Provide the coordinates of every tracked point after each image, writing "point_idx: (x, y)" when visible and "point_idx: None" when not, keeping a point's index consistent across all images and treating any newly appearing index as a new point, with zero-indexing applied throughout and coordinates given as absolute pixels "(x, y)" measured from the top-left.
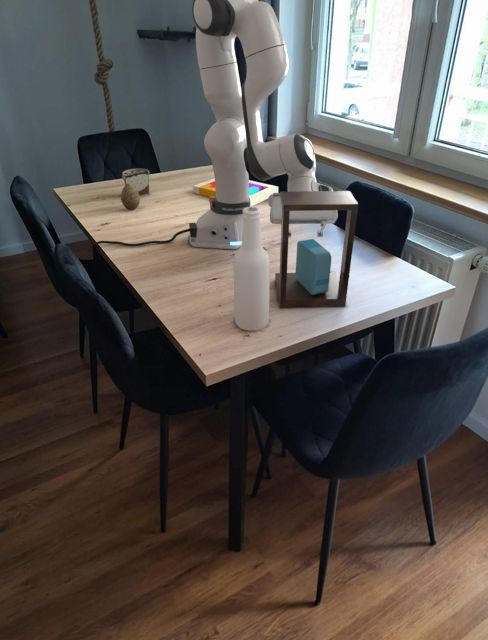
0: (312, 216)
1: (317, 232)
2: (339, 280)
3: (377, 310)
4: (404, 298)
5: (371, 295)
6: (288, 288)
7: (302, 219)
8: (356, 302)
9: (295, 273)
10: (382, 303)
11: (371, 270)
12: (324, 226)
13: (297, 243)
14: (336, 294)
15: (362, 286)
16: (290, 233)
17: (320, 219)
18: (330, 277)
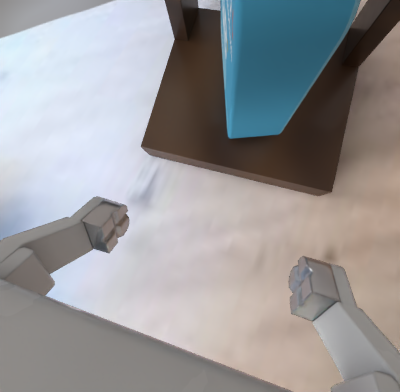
0: (46, 342)
1: (112, 236)
2: (181, 2)
3: (130, 3)
4: (50, 35)
5: (107, 61)
6: (320, 85)
7: (189, 353)
8: (155, 40)
9: (264, 170)
10: (104, 26)
11: (35, 175)
12: (37, 228)
13: (354, 16)
14: (199, 28)
15: (103, 104)
16: (312, 267)
17: (1, 279)
18: (170, 118)
